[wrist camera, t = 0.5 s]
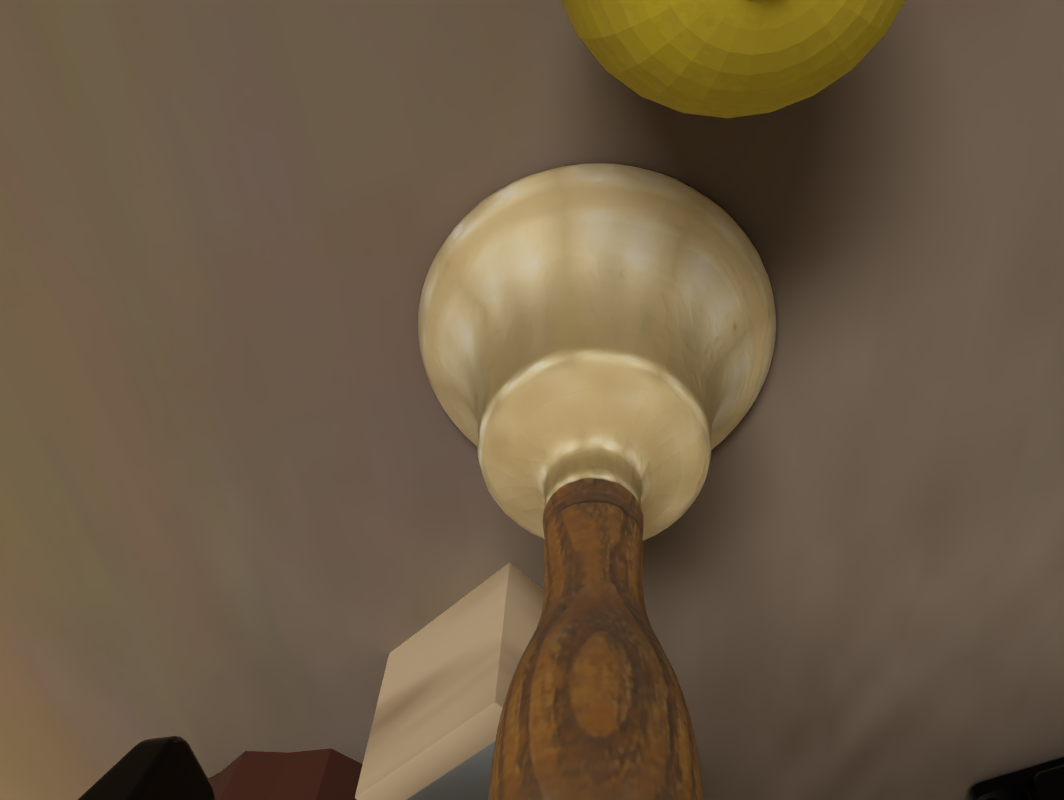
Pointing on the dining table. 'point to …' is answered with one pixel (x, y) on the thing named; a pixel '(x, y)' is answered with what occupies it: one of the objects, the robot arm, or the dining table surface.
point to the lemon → (730, 48)
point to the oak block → (450, 695)
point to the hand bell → (596, 442)
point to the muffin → (288, 776)
